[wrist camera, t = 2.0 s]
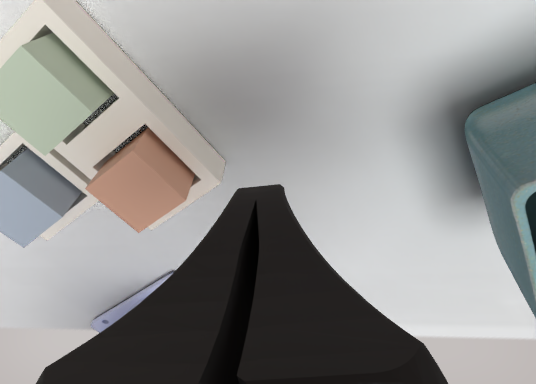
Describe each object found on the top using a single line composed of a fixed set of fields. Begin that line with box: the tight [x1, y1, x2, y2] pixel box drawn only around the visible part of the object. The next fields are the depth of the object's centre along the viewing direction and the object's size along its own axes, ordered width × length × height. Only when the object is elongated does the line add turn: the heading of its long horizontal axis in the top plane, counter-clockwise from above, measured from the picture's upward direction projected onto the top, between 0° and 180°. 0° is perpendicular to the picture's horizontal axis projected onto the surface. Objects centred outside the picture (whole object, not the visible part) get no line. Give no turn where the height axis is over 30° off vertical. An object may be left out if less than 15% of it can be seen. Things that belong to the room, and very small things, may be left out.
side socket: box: [0, 132, 99, 241], centre depth 21 cm, size 5×5×2 cm
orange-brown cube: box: [85, 127, 195, 233], centre depth 19 cm, size 3×3×3 cm
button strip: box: [0, 0, 226, 231], centre depth 20 cm, size 5×11×2 cm, turn 37°
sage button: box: [0, 33, 114, 156], centre depth 17 cm, size 3×3×3 cm
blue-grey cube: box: [0, 148, 82, 248], centre depth 20 cm, size 3×3×3 cm
